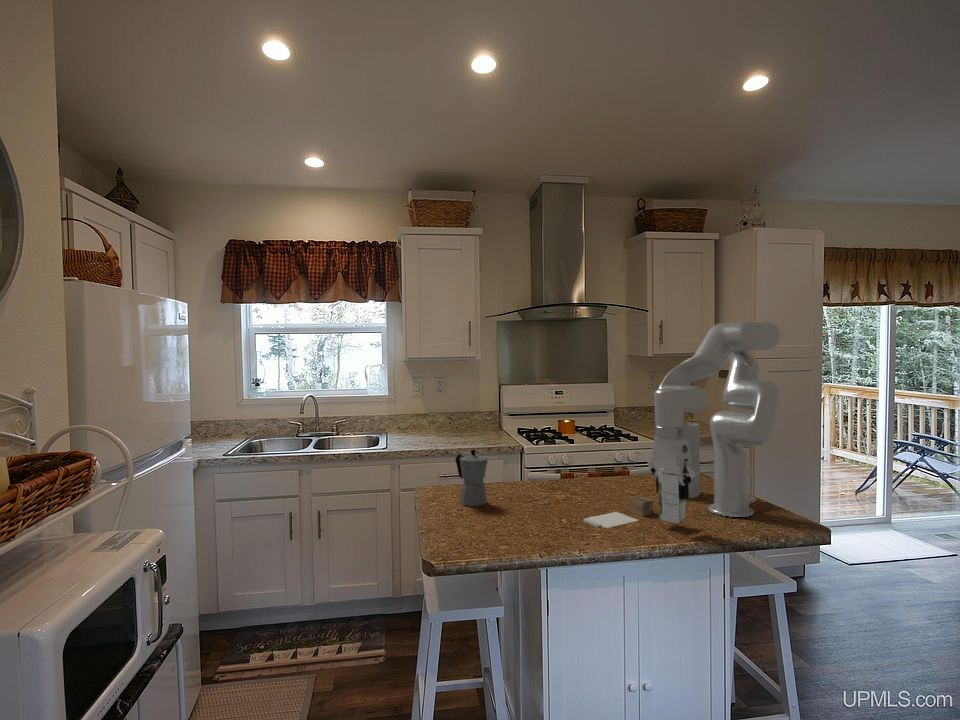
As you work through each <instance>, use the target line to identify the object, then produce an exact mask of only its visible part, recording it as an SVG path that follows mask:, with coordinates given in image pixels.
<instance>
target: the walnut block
mask: <svg viewBox="0 0 960 720" xmlns="http://www.w3.org/2000/svg"><path fill="white" fill-rule="evenodd" d="M629 513H632V514H634V515H637V516H640V517H646V516H650V515H654V514H655V500H654V499H650V498H648V497H644V496H637V497H633V498H629Z"/></svg>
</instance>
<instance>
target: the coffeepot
mask: <svg viewBox="0 0 960 720" xmlns="http://www.w3.org/2000/svg"><path fill="white" fill-rule="evenodd" d="M476 451H477V450H476V449H474V448H473V449H471V450H470V453H471V454H470V455H469V454H468V455H467V454H462V453H458V454H457V456H455V464H456V468H457V472H458V477H459V478H461V479H463V483H462V487H461V492H460V493H461V494H460V500H459V503H460V502H461V503H462V504H463V505H462V504H461V503H460V504H461V505H462V506H465V505H467V506H466V507H481V506H484V505H486V504H487V503H488V498H487V492H486V486H485V483H484V478H485V477H486V470H487V464H488V462H489V461H488V457H485V456H482V455H478V454H476Z"/></svg>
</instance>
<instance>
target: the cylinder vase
mask: <svg viewBox="0 0 960 720" xmlns="http://www.w3.org/2000/svg"><path fill="white" fill-rule="evenodd" d="M684 430H685V431H687V435H684V437H685V438H687V440H688V443H689V448H690V454H691V462H692V467H693V468H694V469H695V470H696V471H697V473H698V474H697V475H696V477H695V478H694V480H693V481H692V482H691V483H690V484H688V485H689V498H687V499H686V500H688V499H690V498H691V499H696V498H699V496H700V494H701V493H700V491H701V487H700V486H701V485H700V482H701V481H700V480H701V479H700V477H701V476H700V468H701V467H700V424H699V423H696V422H687V421H684ZM687 475H689V473H687ZM691 499H690V500H691Z"/></svg>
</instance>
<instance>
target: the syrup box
mask: <svg viewBox="0 0 960 720" xmlns="http://www.w3.org/2000/svg"><path fill="white" fill-rule="evenodd" d="M682 477H683V476H682ZM683 479H684V477H683ZM658 485H659V493H658V514H659V516H658V517H659V518H658V519H659V520H660V521H662V522H663V521H664V522H668V523H669V522H670V523H674V524H675V523H676V524H681V523H682V522H683V521H684V520H686V518H687V502H686V501H687V499H683V500H680V499H679V485H681V484H680V482H679V476H678V475H675V474H674V473H673V472H671V471H670V470H667V469H659V470H658Z"/></svg>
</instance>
